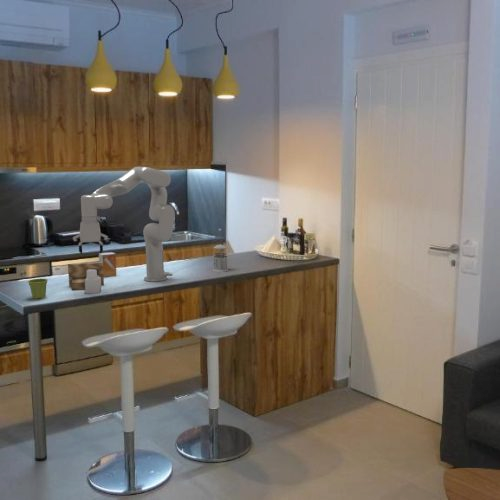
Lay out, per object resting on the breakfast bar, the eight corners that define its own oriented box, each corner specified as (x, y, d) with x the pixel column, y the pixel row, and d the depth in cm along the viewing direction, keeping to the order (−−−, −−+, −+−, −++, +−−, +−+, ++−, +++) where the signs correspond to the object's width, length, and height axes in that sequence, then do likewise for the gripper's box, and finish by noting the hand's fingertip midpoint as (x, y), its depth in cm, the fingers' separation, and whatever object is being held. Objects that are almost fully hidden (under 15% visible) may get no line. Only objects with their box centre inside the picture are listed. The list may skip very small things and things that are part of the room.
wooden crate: (103, 284, 335) (102, 262, 333) (103, 288, 325) (102, 266, 323) (69, 286, 331) (68, 264, 329) (68, 290, 321) (66, 267, 319)
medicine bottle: (87, 290, 321) (86, 267, 319) (101, 290, 322) (100, 267, 320) (85, 293, 314) (83, 270, 312) (99, 293, 315) (98, 270, 313)
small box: (103, 277, 353) (102, 254, 351) (99, 275, 358) (98, 253, 356) (116, 275, 358) (115, 253, 355) (112, 273, 363) (111, 251, 361)
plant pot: (39, 300, 301) (38, 283, 299) (24, 298, 304) (23, 281, 303) (53, 296, 309) (51, 279, 308) (38, 294, 313) (37, 277, 311)
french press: (226, 267, 378) (225, 227, 373) (231, 271, 367) (231, 229, 362) (210, 269, 375) (209, 228, 370) (215, 272, 364) (214, 230, 360)
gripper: (107, 218, 317) (108, 251, 320) (72, 219, 314) (74, 252, 316) (107, 220, 310) (108, 253, 313) (71, 221, 306) (73, 255, 309)
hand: (91, 253), depth 315 cm, fingers open, 9 cm apart
